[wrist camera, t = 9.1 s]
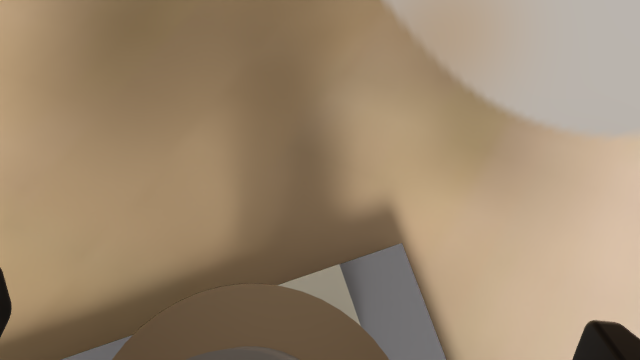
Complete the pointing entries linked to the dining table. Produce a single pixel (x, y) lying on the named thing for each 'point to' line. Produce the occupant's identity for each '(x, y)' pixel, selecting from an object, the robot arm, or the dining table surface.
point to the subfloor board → (361, 305)
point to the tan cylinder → (251, 328)
